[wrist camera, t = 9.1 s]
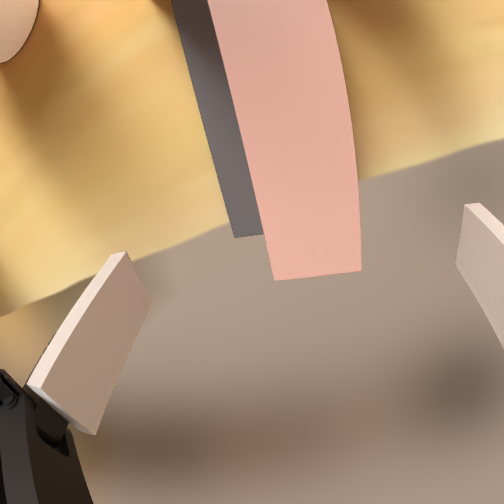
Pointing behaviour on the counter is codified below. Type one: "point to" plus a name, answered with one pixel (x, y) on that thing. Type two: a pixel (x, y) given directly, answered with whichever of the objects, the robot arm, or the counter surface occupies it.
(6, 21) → the cup
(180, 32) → the pad
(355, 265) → the pink rectangular block
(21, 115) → the counter surface
